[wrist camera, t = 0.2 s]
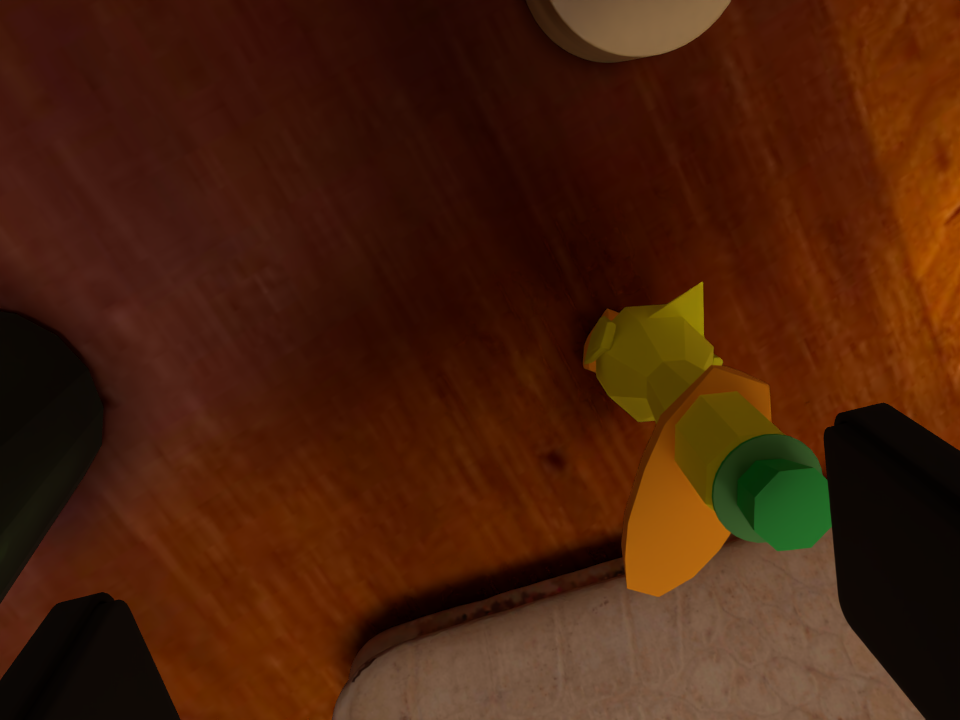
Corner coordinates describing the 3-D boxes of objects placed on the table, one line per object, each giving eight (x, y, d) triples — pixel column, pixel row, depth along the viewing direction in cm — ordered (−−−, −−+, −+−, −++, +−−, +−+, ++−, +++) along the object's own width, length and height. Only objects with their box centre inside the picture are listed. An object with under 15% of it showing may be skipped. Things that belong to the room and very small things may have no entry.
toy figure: (622, 455, 26) (776, 727, 15) (523, 425, 26) (605, 684, 14) (704, 268, 24) (953, 415, 13) (600, 231, 24) (765, 351, 12)
